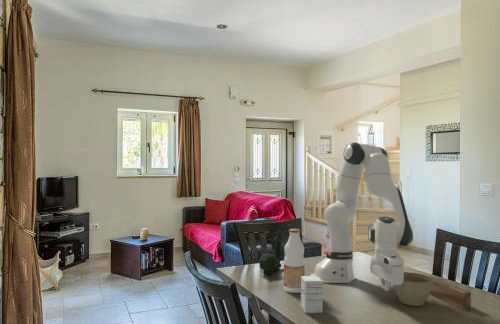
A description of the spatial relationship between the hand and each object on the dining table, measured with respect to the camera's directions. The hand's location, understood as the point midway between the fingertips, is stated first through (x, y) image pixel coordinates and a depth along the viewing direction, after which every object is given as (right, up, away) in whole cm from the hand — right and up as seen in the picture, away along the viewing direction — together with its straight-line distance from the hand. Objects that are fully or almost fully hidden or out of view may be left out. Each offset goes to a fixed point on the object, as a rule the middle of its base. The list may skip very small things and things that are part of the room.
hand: (385, 289), depth 167 cm
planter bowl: (+12, -7, +3) cm, 14 cm away
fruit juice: (-36, -6, +18) cm, 41 cm away
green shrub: (-45, -6, +48) cm, 66 cm away
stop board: (+28, -6, +6) cm, 29 cm away
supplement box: (-32, -6, -7) cm, 33 cm away
